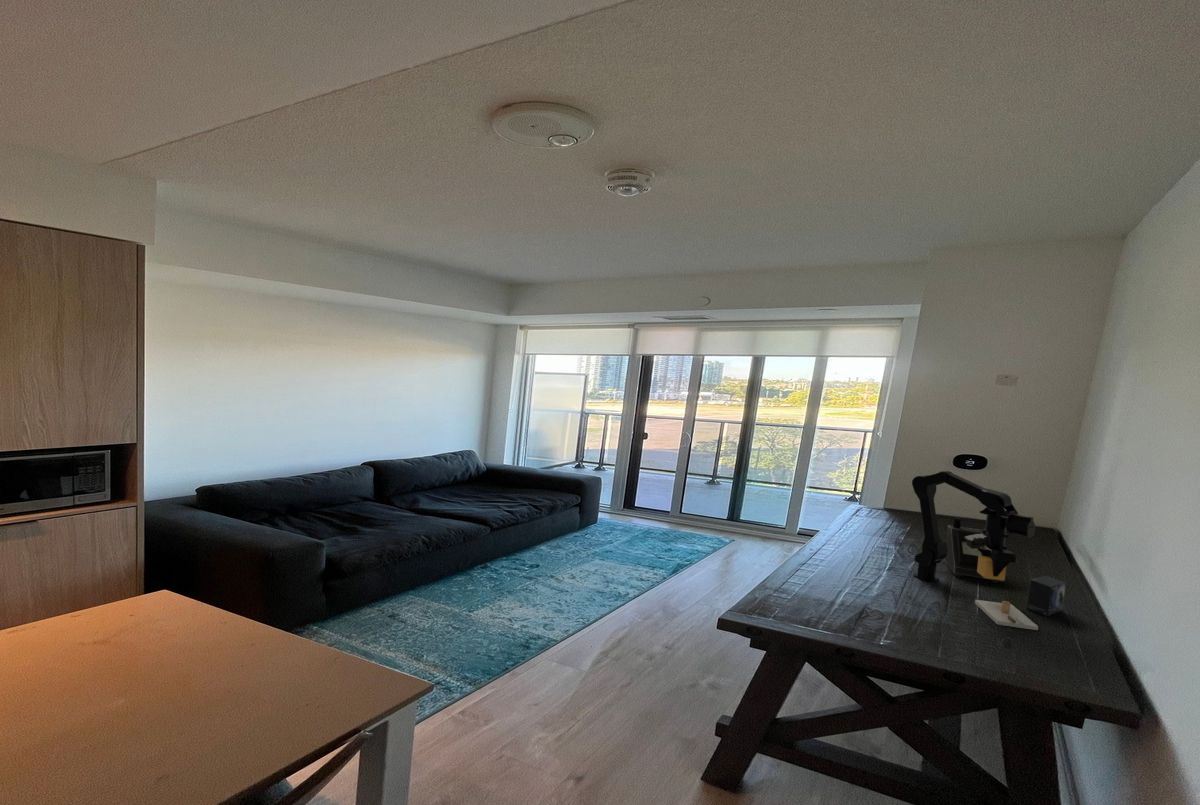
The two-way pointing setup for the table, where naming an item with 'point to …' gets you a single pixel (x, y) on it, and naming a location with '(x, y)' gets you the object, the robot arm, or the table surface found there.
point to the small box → (1046, 595)
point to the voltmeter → (962, 551)
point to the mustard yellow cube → (988, 568)
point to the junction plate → (1006, 614)
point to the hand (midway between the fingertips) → (990, 572)
